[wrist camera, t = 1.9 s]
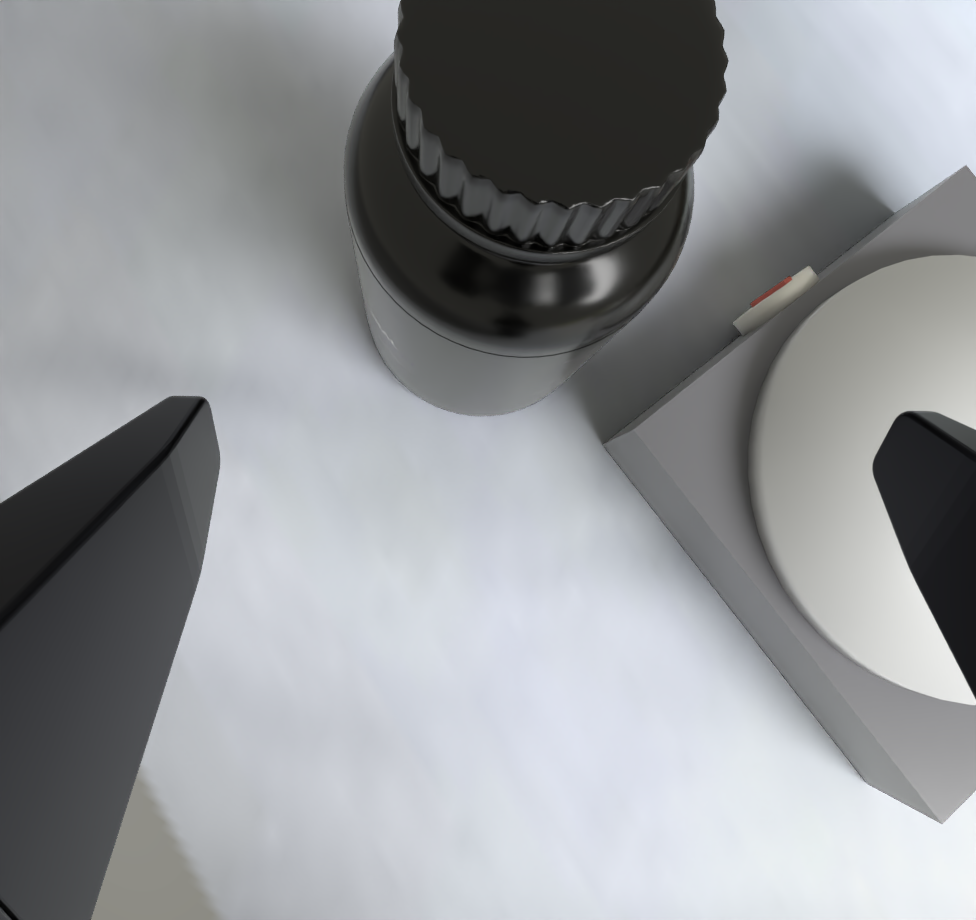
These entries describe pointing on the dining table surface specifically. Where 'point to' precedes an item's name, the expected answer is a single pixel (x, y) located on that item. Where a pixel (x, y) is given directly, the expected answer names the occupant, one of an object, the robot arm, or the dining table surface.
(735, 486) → the kitchen scale
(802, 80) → the dining table surface
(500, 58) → the supplement bottle
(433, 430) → the dining table surface
